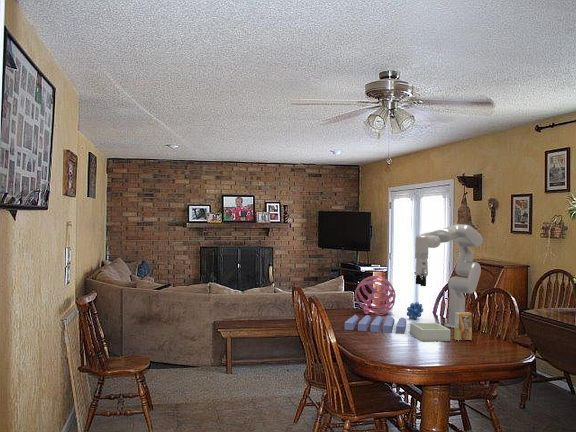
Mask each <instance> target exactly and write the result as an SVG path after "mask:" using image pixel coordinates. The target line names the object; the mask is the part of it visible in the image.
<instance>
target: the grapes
mask: <svg viewBox="0 0 576 432" xmlns="http://www.w3.org/2000/svg"><path fill="white" fill-rule="evenodd" d="M406 311H407V312H406V316H407V317H408V319H409V320H414V321H415V320H418V318H420V317H421V316H422V313H423V312H424V308H423V304H421V303H419V301H415V302H411V303H410V304H409V306H408V307H407V308H406Z"/></svg>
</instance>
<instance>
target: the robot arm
mask: <svg viewBox="0 0 576 432" xmlns="http://www.w3.org/2000/svg"><path fill="white" fill-rule="evenodd" d="M454 240H456V243H457V246H458V248H459V249H458V250H459V256H458V259H457V261H456V265H455V268H454V271H455V274H457V275H458V276H452V277H450V278H449V279H448V283H447V285H448V290H449V298H448V299H449V302H448V304H449V307H448V323H446V324H445V327H446V328H450V327H451V329H455V313H464V312H466V298H465V295H464V294H473V293H475V291H476V289H477V287H478V283H479V280H480V277H481V274H482V273H481V272H482V269H481V264H480V263H479V262H477V261H476V262H475V261H474V252H473V250H472V248H477V247H480V246H482V245H483V237H482V235H481V233H479V232H478V231H477V230H476V229H475V228H474V227H473V226H471V225H469V224H461V223H460V224H459V223H455V224H452V225H449V226H447V227H444V228H441V229H436V230H432V231H427V232H424V233H422V234H420V235H419V234H418V235H416V236H415V244H414V246H415V248H414V249H415V250H414V252H415V253H414V259H416V260H415V285H420V287H426V286H427V276H428V274H429V265H428V264H429V263H428V259H429V249H436V248H438V247H439V246H441V244H442V243H444V244H445V243H449V242H452V241H454ZM471 247H472V248H471Z"/></svg>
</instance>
